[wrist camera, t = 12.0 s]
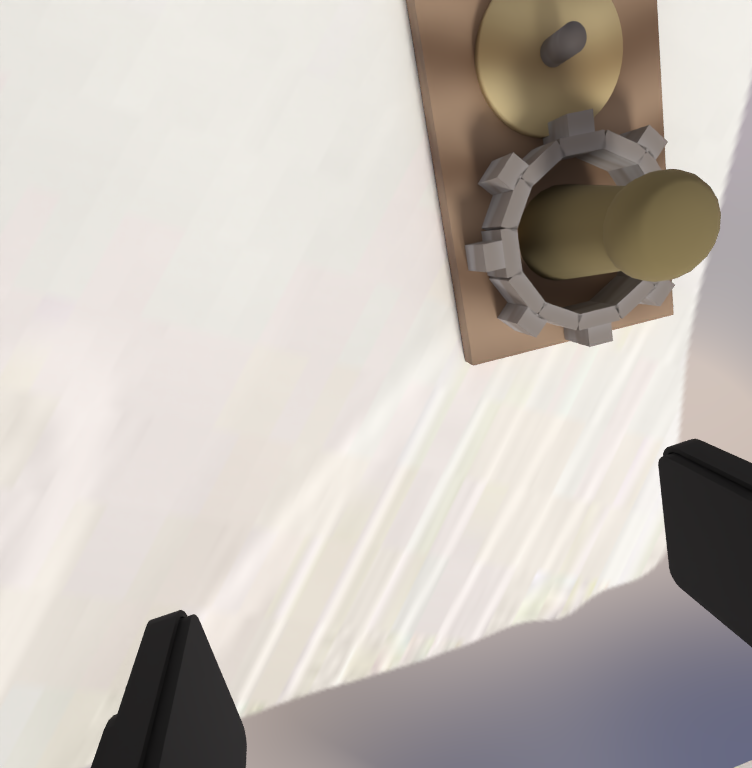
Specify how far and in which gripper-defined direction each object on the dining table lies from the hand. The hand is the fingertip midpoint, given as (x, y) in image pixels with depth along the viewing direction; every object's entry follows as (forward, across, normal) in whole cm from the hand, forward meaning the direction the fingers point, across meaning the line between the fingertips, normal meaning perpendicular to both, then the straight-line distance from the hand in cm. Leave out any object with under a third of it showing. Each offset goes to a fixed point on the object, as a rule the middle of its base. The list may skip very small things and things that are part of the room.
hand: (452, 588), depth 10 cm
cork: (+25, -17, -3) cm, 30 cm away
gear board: (+26, -17, -8) cm, 32 cm away
